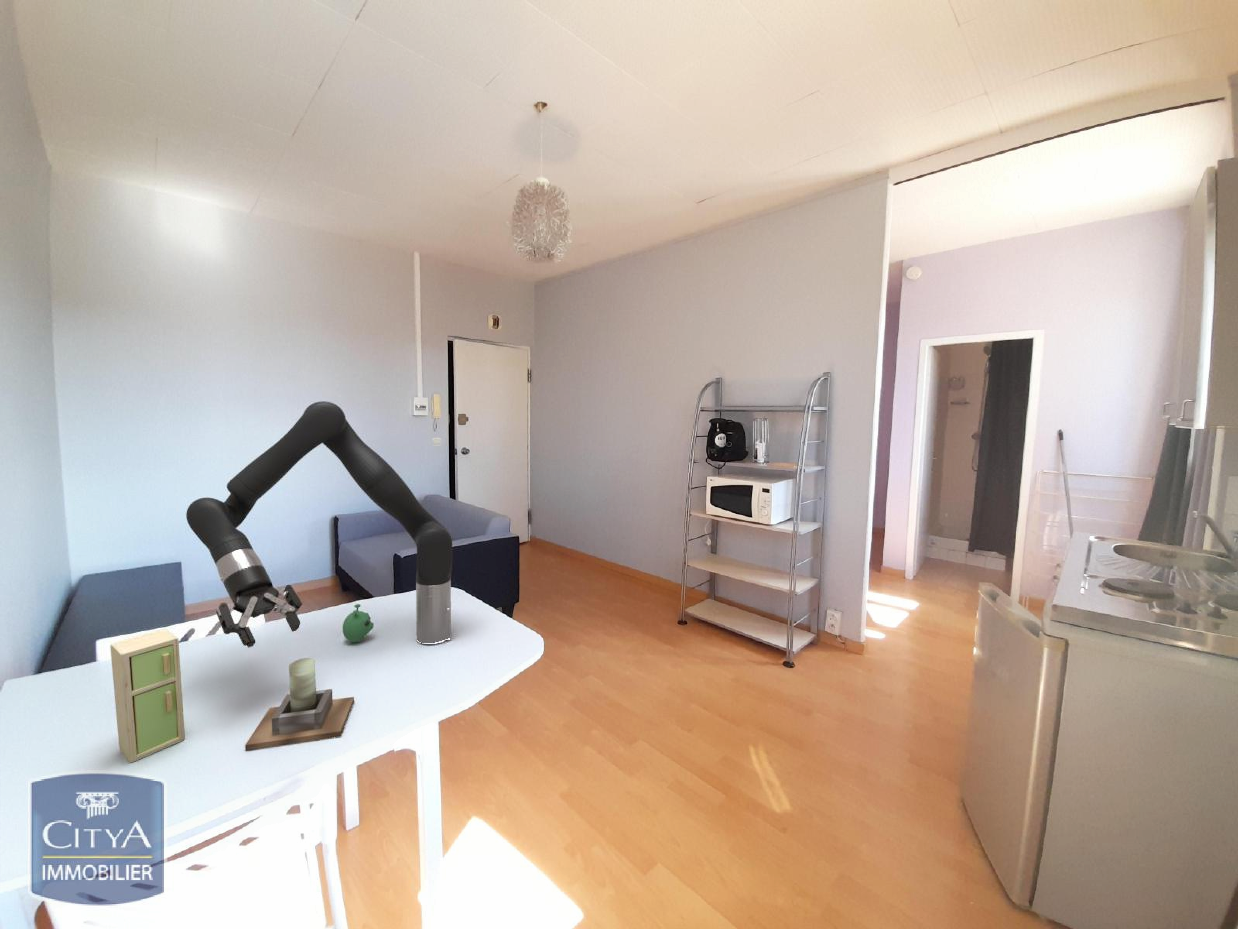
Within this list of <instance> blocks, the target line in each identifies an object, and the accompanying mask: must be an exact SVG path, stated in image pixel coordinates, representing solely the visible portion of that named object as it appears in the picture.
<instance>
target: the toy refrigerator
mask: <svg viewBox="0 0 1238 929" xmlns="http://www.w3.org/2000/svg"><path fill="white" fill-rule="evenodd" d="M179 644H180V643H179V638H178V636H177V635H175V634H174V633H172V632H171V631H170V630H169V629H167V628H164V629H160V630H156V631H153V632H148V633H145V634H142V635H139V636H135V637H131V638H127V639H124V640H121V641H116V642H113V643H111V644H110V647H109V648H110V656H111V660H110V661H111V668H112V669H111V670H112V680H113V692H114V704H115V714H116V715H115V716H116V724H117V725H116V726H117V727H116V728H117V736H118V737H117V738H118V747H119V751H120V752H121V753H122V755H123V756H124V757H125V759H126V760H127V761H128V763H130V764H131V763H133V762H136V761H139V760H141V759H143V758H146V757H148V756H150V755H153V754H155V753H157V752H160V751H161V750H164V749H166V748H168V747H171V746H173V745H175V744H177V743H180V742H183V741H184V740H186V730H185V717H184V716H185V715H184V704H183V688H182V675H181V674H182V672H181V671H182V670H181V660H180V645H179Z"/></svg>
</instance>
